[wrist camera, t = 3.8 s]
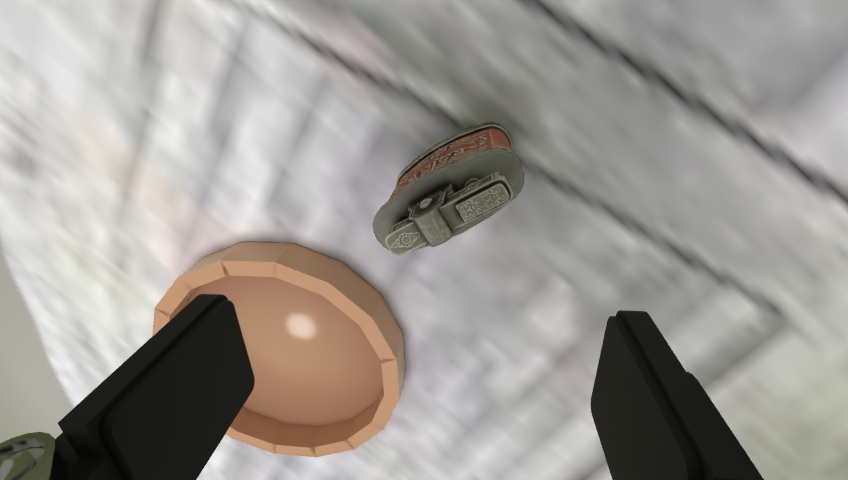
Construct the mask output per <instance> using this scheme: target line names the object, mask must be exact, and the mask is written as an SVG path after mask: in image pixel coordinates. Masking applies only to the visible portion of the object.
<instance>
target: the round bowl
mask: <svg viewBox="0 0 848 480" xmlns="http://www.w3.org/2000/svg"><path fill="white" fill-rule="evenodd" d="M199 294H222V295H225V296H226V297H227V298H228V300H229V301H232V302H233V304H234V307H235V311H236V314H237V318H238V321H239V325H240V328H241V332H242V335H243V339H244V342H245V346H246V349H247V353H248V356H249V360H250V363H251V367H252V370H253V374H254V378H255V384H254V388H253V391H252V393H251V394H250V396H249V397H248V399H247V400H246V402H245V404H244V405H243V407H242V408H241V410H240V411H239V413H238V415H237V416H236V418H235V419H234V421H233V422H232V424H231V426H230V427H229V429H228V430H227V432H226V433H225V434H226V435H228V436H229V437H231V438H232V439H235V440H238V441H241V442H244V443H246V444H249V445H252V446H255V447H258V448H260V449H263V450H266V451H269V452H272V453H275V454H286V455H298V456H309V457H320V456H324V455H329V454H334V453H339V452H343V451H348V450H353V449H355V448H357V447H358V446H360V445H361V444H363V443H364V442H366V441H367V440H369V439H370V438H372V437H373V436H375V435H376V434H377V433H379V432H380V431H382V430H383V429H384V428H385V426H386V424H387V422H388V420H389V418H390V416H391V414H392V412H393V410H394V408H395V406H396V404H397V402H398V400H399V398H400V393H401V388H402V384H403V379H404V374H405V359H404V343H403V333H402V331H401V329H400V328H399V326H398V324H397V322H396V320H395V319H394V317H393V315H392V313H391V312H390V310H389V308H388V306H387V304H386V303H385V301H384V299H383V297H382V295H381V294H379V293H378V292H377V291H376V290H375V289H374V288H372V287H371V286H370V285H369V284H368V283H366V282H365V281H364V280H363V279H362V278H360V277H359V276H358V275H357V274H356V273H354V272H353V271H352V270H351V269H350V268H348V267H347V266H346V265H345V264H344V263H342V262H340V261H338V260H335V259H332V258H330V257H327V256H325V255H322V254H320V253H317V252H314V251H312V250H309V249H307V248H304V247H301V246H299V245H296V244H294V243H273V242H241V243H238V244H236V245H233V246H231V247H229V248H226V249H224V250H221V251H219V252H216V253H214V254H211V255H209V256H207V257H204V258H202V259H201V260H200V261H198V262H197V263H196V264H195V265H193V266H192V267H191V268H189V269H188V270H187V271H186V272H184V273H183V274H182V275H180V276H179V277H178V278H177V279H176V281H175V282H174V283H173V285H172V286H171V287H170V289H169V290H168V291H167V293H166V294H165V295H164V297H163V298H162V299H161V300H160V302H159V303H158V304H157V306H156V307H155V312H154V325H153V336H154V335H155V334H156V333H157V332H158V331H159V330H160V329H161V328H162V327H164V326H165V325H166V324H167V323H168V322H169V321H170V320H171V319H172V318H173V317H174V316H176V315H177V314H178V313H179V312H180V311H181V310H182V309H183V308H184V307H185V306H187V305H188V304H189V303H190V302H191V301H192V300H193V299H194V298H195V297H196V296H198V295H199Z"/></svg>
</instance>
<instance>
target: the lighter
mask: <svg viewBox="0 0 848 480" xmlns="http://www.w3.org/2000/svg"><path fill="white" fill-rule="evenodd" d="M523 185H524V173H523V169H522V166H521V164H520V161H519V160H518V158H517V157H516V156H515V154H514V153H512V141H511V138H510V135H509V133H508V132H507V130H506V129H505V128H504V127H503V126H501V125H500V124H498V123H494V122H489V123H484V124H481V125H479V126H476V127H473V128H470V129H467V130H464V131H462V132H460V133H458V134H456V135H453V136H451V137H449V138H447V139H445V140H443V141H441V142H439V143H438V144H436V145H435V146H433V147H432V148H430V149H429V150H428V151H426V152H425V153H423V154H422V155H420V156H419V157H418V158H417V159H415V160H414V161H413V162H412V163H411V164H410V165H409V166H407V167H406V168H405V169H404V170H403V171H402V172H401V174H400V175H399V177H398V178H397V181H396V188H395V190H394V192H393V193H392V195H391V197H390V199H389V200H388V202H387V203H385V204H384V205H383V206H382V207H381V208H380V210H379V211H378V212H377V214H376V216H375V217H374V222H373V230H374V234H375V236H376V238H377V240H378V241H379V242H380V243H381V244H382V246H383V247H385V248H387V249H388V250H390V251H391V252H392V253H393V254H394V255H396V256H401V255H404V254H406V253H408V252H410V251H413V250H416V249H420V248H423V247H427V246H431V247H434V246H438V245H440V244H442V243H444V242H446V241H448V240H449V239H450V238H452V237H453V236H456V235H458V234H461V233H463V232H464V231H466V230H468V229H470V228H471V227H473V226H475V225H477V224H478V223H480V222H482V221H484V220H485V219H487V218H489V217H490V216H492V215H493V214H494V213H496V212H497V211H498V210H500V209H501V208H502V207H504V206H505V205H506V204H508V203H509V202H511V201H512V200H513V199H515V198H516V197H517V195H518V194H519V193H520V192H521V190H522V187H523Z"/></svg>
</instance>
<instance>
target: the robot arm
mask: <svg viewBox="0 0 848 480" xmlns="http://www.w3.org/2000/svg"><path fill="white" fill-rule="evenodd" d="M254 384H255V378H254V374H253V370H252V367H251V363H250V360H249V356H248V353H247V349H246V346H245V342H244V339H243V335H242V332H241V328H240V325H239V321H238V318H237V314H236V311H235V307H234V304H233V302H232V301H229V300H228V298H227V297H226V296H225V295H222V294H199V295H198V296H196V297H195V298H194V299H193V300H192V301H191V302H190V303H189V304H188V305H187V306H185V307H184V308H183V309H182V310H181V311H180V312H179V313H178V314H177V315H176V316H174V317H173V318H172V319H171V320H170V321H169V322H168V323H167V324H166V325H165V326H164V327H162V328H161V329H160V330H159V331H158V332H157V333H156V334H155V335H154V336H153V337H151V338H150V339H149V340H148V341H147V342H146V343H145V344H144V345H143V346H142V347H141V348H139V349H138V350H137V351H136V352H135V353H134V354H133V355H132V356H131V357H130V358H128V359H127V360H126V361H125V362H124V363H123V364H122V365H121V366H120V367H119V368H118V369H116V370H115V371H114V372H113V373H112V374H111V375H110V376H109V377H108V378H107V379H105V380H104V381H103V382H102V383H101V384H100V385H99V386H98V387H97V388H96V389H95V390H93V391H92V392H91V393H90V394H89V395H88V396H87V397H86V398H85V399H84V400H82V401H81V402H80V403H79V404H78V405H77V406H76V407H75V408H74V409H73V410H72V411H70V412H69V413H68V414H67V415H66V416H65V417H64V418H63V419H62V420H61V421H59V422H58V424H59V426H60V427H61V429H62V431H63V433H62V434H61V435H60V436H59V437H57V438H56V439H55V438H53V437H52V436H51V435H50V434H48V433H43V432H35V433H27V434H24V435H21V436H17V437H14V438H11V439H9V440H7V441H5V442H2V443H0V480H196V479H197V477H198V476H199V474H200V473H201V471H202V470H203V468H204V466H205V465H206V463H207V462H208V460H209V459H210V457H211V455H212V454H213V452H214V451H215V449H216V448H217V446H218V444H219V443H220V441H221V440H222V438H223V437H224V435H225V433H226V432H227V430H228V429H229V427H230V426H231V424H232V422H233V421H234V419H235V418H236V416H237V415H238V413H239V411H240V410H241V408H242V407H243V405H244V404H245V402H246V400H247V399H248V397H249V396H250V394H251V393H252V391H253V388H254ZM591 412H592V416H593V419H594V423H595V426H596V429H597V432H598V435H599V438H600V441H601V445H602V448H603V451H604V454H605V457H606V460H607V463H608V466H609V470H610V473H611V476H612V479H613V480H764V479H763V478H762V476H761V475H760V473H759V472H758V470H757V469H756V467H755V466H754V464H753V463H752V461H751V460H750V458H749V457H748V455H747V454H746V452H745V451H744V449H743V448H742V446H741V445H740V443H739V442H738V440H737V439H736V437H735V436H734V434H733V433H732V431H731V430H730V428H729V427H728V425H727V424H726V422H725V421H724V419H723V418H722V416H721V415H720V413H719V412H718V410H717V409H716V407H715V406H714V404H713V403H712V401H711V400H710V398H709V397H708V395H707V394H706V392H705V391H704V389H703V388H702V386H701V385H700V383H699V382H698V380H697V379H696V378H695V377H694V376H693V375H692V374H690V373H689V372H686V371H685V370H684V368H683V367H682V365H681V363H680V362H679V360H678V359H677V357H676V356H675V354H674V353H673V351H672V350H671V348H670V346H669V345H668V343H667V342H666V340H665V339H664V337H663V336H662V334H661V333H660V331H659V329H658V328H657V326H656V325H655V323H654V322H653V320H652V319H651V317H650V316H649V314H648V313H647V312H644V311H621V310H620V311H618V312H617V314H616V317H615V316H611V317H609V318H608V321H607V326H606V330H605V335H604V340H603V345H602V349H601V354H600V359H599V364H598V368H597V373H596V378H595V383H594V387H593V392H592V397H591Z"/></svg>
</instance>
